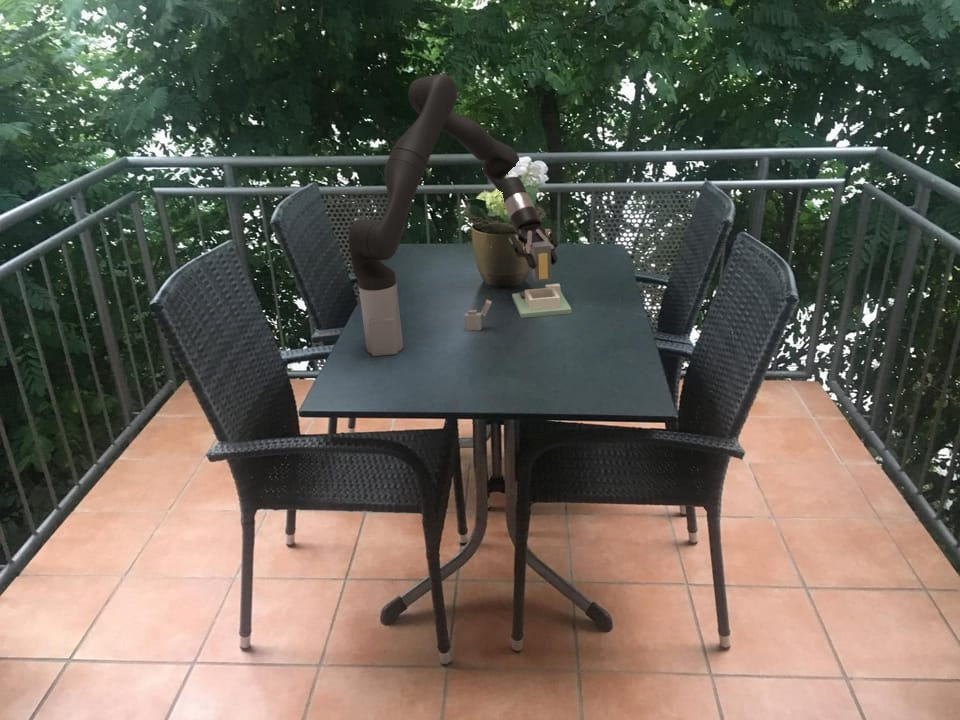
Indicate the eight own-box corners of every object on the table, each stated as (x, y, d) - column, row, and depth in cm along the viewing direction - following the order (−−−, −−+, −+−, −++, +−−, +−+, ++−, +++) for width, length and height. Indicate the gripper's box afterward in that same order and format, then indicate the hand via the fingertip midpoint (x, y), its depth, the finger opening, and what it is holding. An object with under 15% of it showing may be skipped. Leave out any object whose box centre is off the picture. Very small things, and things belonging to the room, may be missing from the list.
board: (571, 313, 211) (571, 298, 209) (521, 317, 210) (520, 303, 208) (559, 293, 226) (559, 279, 224) (512, 297, 225) (511, 284, 223)
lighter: (465, 330, 204) (464, 302, 201) (466, 328, 206) (464, 300, 202) (492, 329, 204) (491, 301, 200) (492, 327, 205) (491, 299, 202)
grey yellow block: (551, 281, 210) (551, 246, 206) (535, 283, 210) (534, 247, 206) (548, 275, 215) (547, 241, 210) (532, 277, 214) (531, 242, 210)
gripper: (503, 209, 208) (526, 263, 203) (549, 201, 213) (572, 253, 209) (495, 224, 214) (517, 277, 210) (539, 216, 220) (562, 267, 215)
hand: (544, 265), depth 209 cm, fingers closed on grey yellow block, 5 cm apart
